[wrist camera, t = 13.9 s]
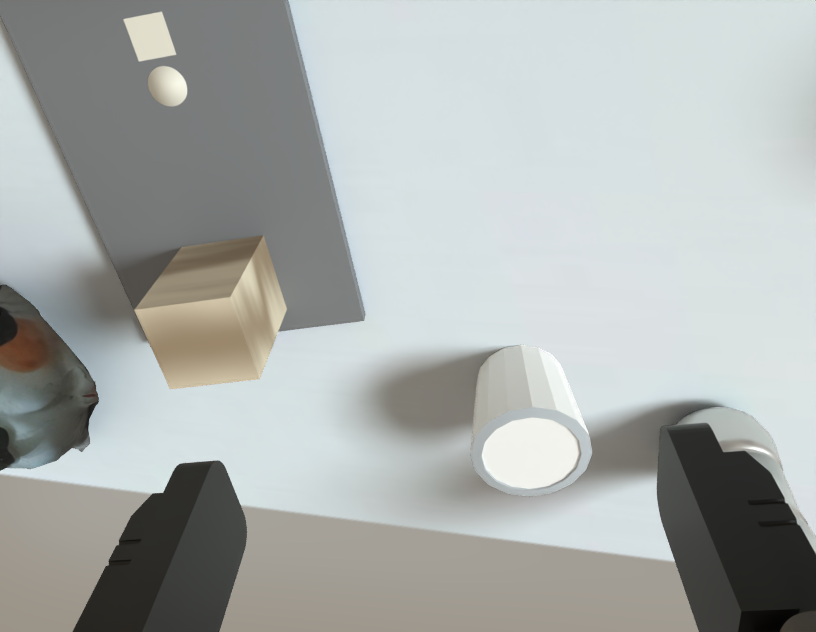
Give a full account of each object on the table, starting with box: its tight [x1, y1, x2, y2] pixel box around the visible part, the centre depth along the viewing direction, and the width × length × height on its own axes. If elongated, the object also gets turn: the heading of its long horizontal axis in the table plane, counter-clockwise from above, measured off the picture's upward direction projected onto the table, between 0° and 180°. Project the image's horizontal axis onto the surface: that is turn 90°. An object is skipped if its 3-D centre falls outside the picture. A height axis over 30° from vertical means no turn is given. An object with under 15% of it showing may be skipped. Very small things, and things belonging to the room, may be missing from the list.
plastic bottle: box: [676, 407, 816, 553], centre depth 37 cm, size 6×7×20 cm
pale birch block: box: [134, 235, 287, 389], centre depth 37 cm, size 5×5×7 cm
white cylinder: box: [470, 345, 592, 497], centre depth 41 cm, size 7×7×7 cm
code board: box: [0, 0, 365, 347], centre depth 34 cm, size 33×14×1 cm, turn 10°
